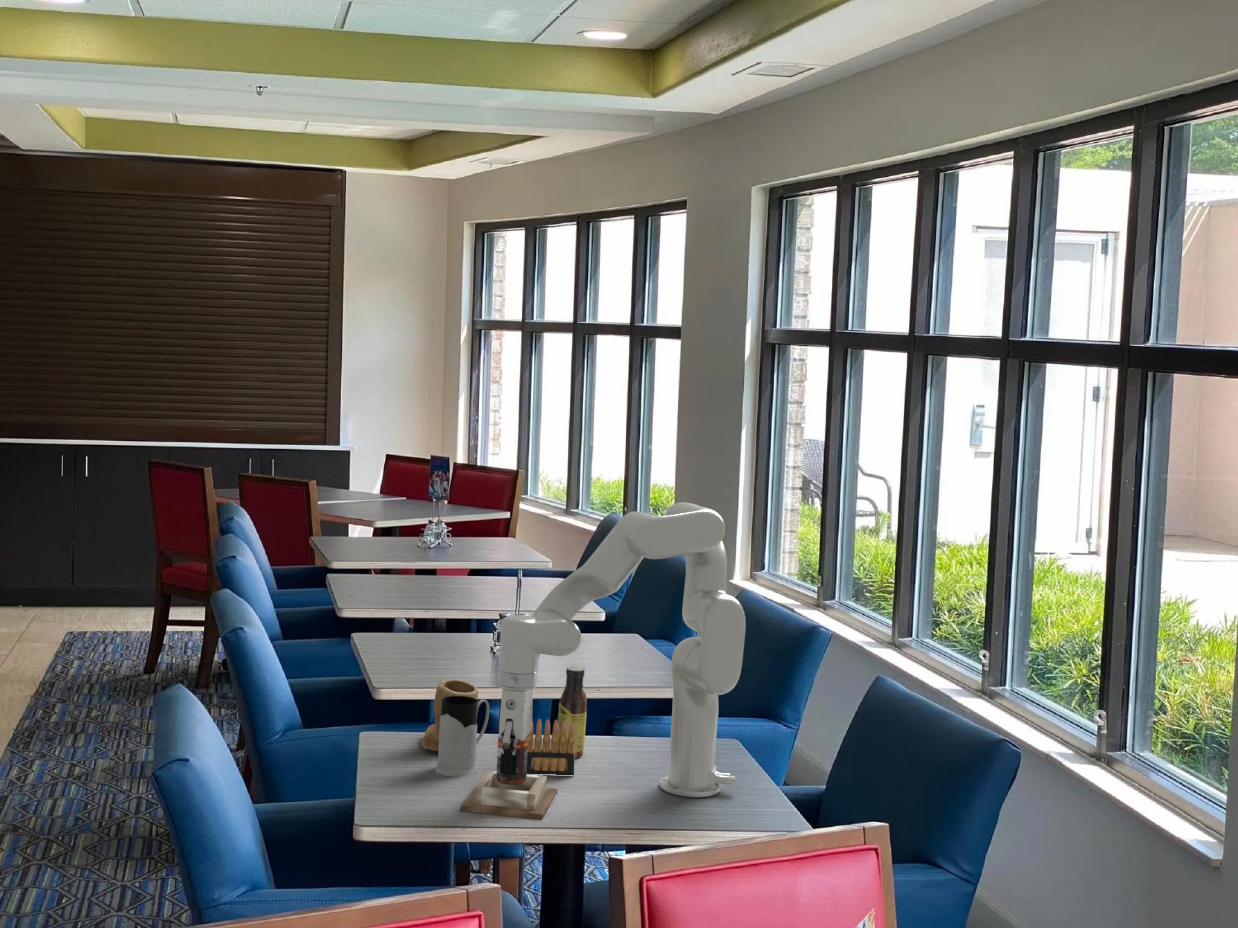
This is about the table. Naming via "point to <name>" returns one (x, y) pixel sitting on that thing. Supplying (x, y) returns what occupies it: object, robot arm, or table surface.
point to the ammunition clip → (556, 758)
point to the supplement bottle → (521, 763)
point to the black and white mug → (459, 735)
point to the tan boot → (443, 690)
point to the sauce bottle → (574, 707)
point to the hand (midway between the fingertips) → (511, 768)
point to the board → (511, 797)
